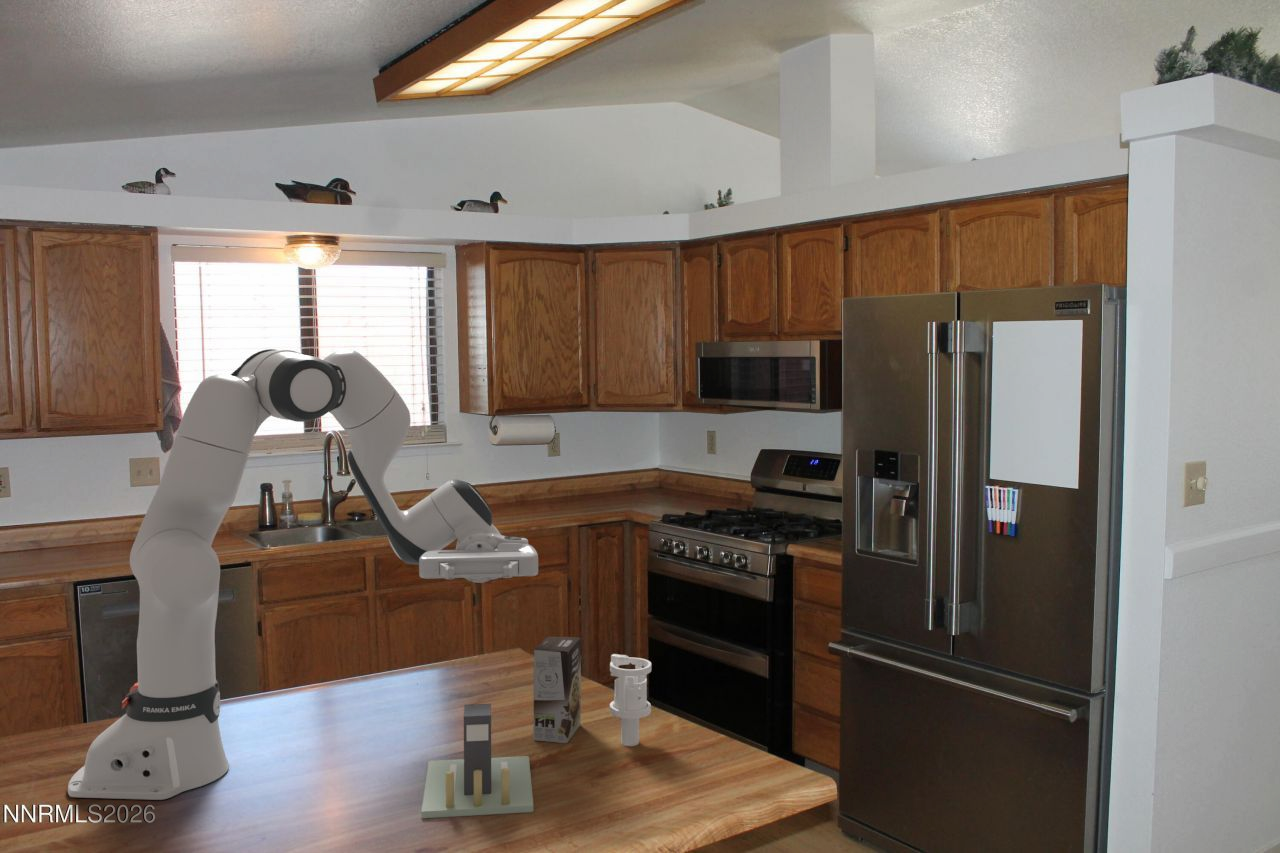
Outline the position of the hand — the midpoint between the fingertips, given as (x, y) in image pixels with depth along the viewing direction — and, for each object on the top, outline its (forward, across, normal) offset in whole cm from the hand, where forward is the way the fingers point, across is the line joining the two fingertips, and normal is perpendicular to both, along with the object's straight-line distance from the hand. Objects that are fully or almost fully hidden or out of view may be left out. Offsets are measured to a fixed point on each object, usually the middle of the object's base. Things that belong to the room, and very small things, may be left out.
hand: (478, 573), depth 169 cm
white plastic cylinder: (0, +26, +30) cm, 40 cm away
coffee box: (-6, +14, +30) cm, 34 cm away
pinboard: (+15, 0, +30) cm, 33 cm away
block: (+17, 0, +29) cm, 34 cm away
